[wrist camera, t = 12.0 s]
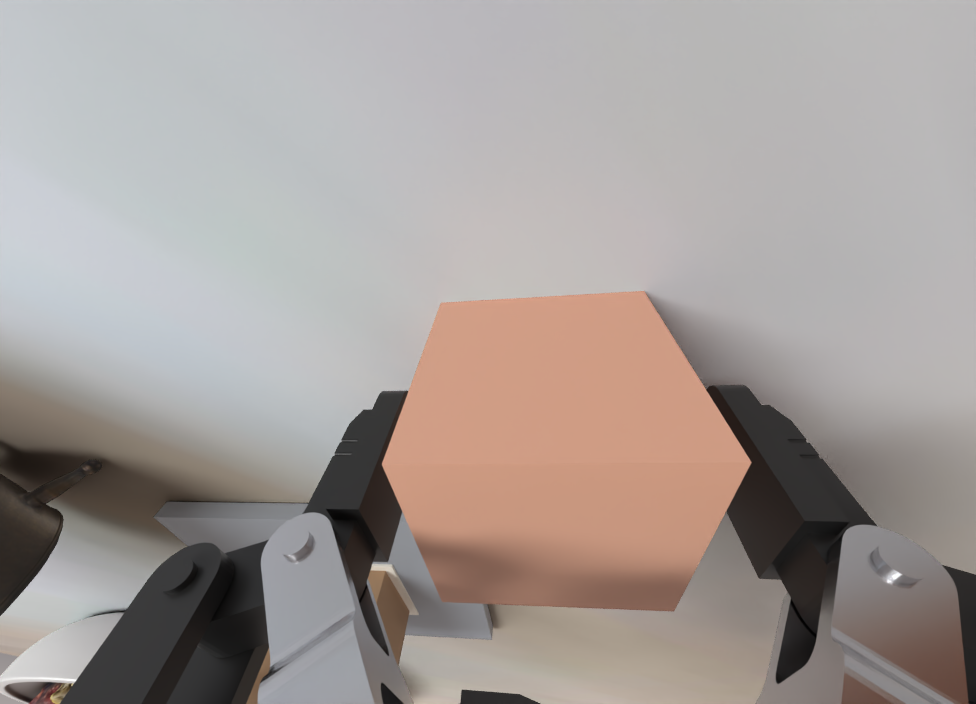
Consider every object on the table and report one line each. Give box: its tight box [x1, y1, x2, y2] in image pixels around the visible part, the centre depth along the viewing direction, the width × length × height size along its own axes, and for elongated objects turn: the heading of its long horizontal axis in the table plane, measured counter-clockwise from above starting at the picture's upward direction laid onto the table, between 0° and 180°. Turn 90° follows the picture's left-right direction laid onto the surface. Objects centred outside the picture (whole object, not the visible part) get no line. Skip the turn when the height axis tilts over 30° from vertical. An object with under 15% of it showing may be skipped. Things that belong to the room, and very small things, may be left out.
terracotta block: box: [382, 291, 752, 611], centre depth 9 cm, size 6×6×6 cm
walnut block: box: [246, 570, 410, 704], centre depth 18 cm, size 6×6×6 cm
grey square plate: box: [154, 502, 493, 640], centre depth 21 cm, size 15×15×1 cm
